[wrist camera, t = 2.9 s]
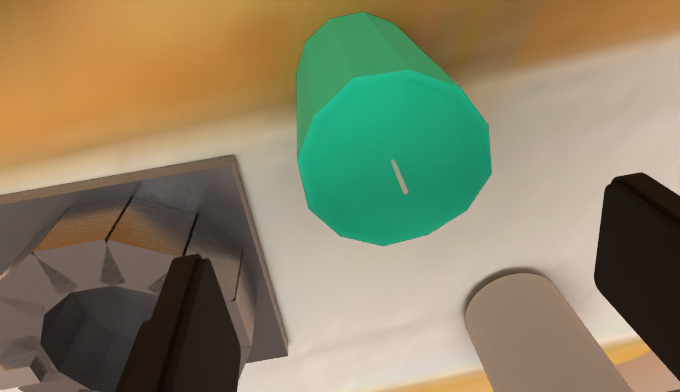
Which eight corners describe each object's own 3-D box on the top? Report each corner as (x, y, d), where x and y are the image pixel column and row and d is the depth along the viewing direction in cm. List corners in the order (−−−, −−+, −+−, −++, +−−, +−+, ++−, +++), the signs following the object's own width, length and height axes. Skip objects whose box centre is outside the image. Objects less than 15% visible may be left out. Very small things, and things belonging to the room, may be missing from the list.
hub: (233, 154, 25) (216, 216, 20) (288, 342, 32) (286, 425, 27) (-27, 200, 25) (-115, 274, 20) (83, 377, 32) (40, 467, 27)
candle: (425, 16, 23) (538, 91, 12) (407, 134, 25) (485, 277, 15) (298, 7, 22) (301, 79, 12) (294, 130, 25) (294, 276, 14)
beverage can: (451, 284, 31) (531, 466, 20) (549, 252, 30) (683, 423, 20) (471, 349, 34) (549, 535, 24) (560, 321, 33) (681, 500, 23)
